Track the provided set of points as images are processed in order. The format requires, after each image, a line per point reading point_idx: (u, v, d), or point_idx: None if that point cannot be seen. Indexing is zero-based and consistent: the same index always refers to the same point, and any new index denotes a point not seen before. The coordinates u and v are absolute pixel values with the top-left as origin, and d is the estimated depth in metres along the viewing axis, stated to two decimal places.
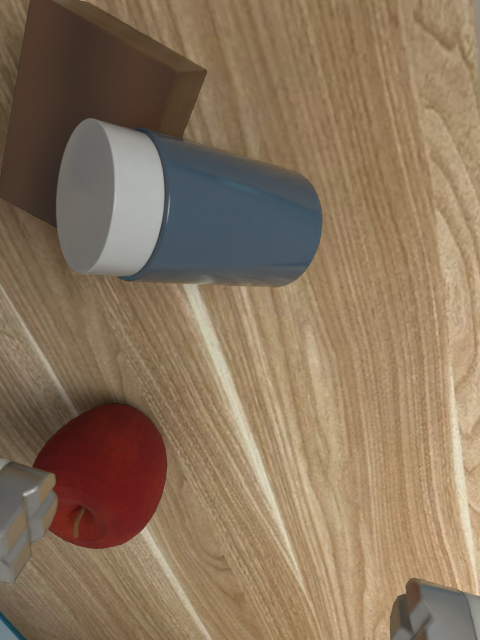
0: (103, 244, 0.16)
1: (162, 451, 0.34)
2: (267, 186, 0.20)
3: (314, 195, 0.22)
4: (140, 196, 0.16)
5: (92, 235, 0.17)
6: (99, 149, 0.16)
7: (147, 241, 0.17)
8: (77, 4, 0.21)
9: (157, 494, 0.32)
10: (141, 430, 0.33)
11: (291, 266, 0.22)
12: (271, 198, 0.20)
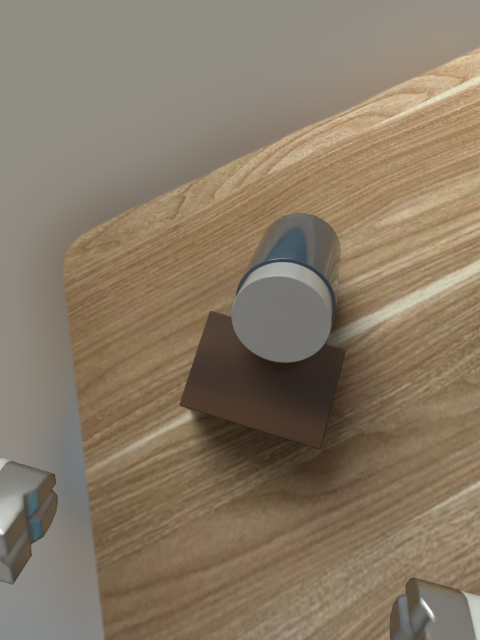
0: (295, 280, 0.25)
1: None
2: (261, 242, 0.32)
3: None
4: (263, 271, 0.26)
5: (296, 297, 0.25)
6: (245, 306, 0.26)
7: (292, 265, 0.26)
8: None
9: None
10: None
11: (312, 220, 0.33)
12: (267, 236, 0.32)
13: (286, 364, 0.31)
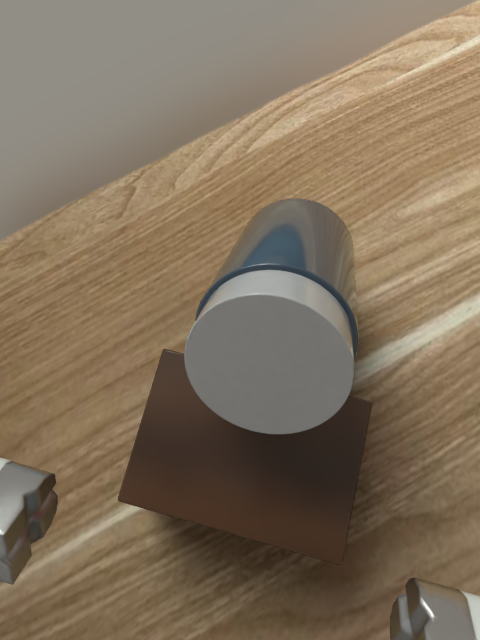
0: (287, 301, 0.14)
1: None
2: (237, 241, 0.21)
3: (247, 223, 0.24)
4: (234, 286, 0.15)
5: (291, 330, 0.15)
6: (205, 346, 0.16)
7: (282, 275, 0.15)
8: None
9: None
10: None
11: (311, 207, 0.22)
12: (245, 233, 0.21)
13: None
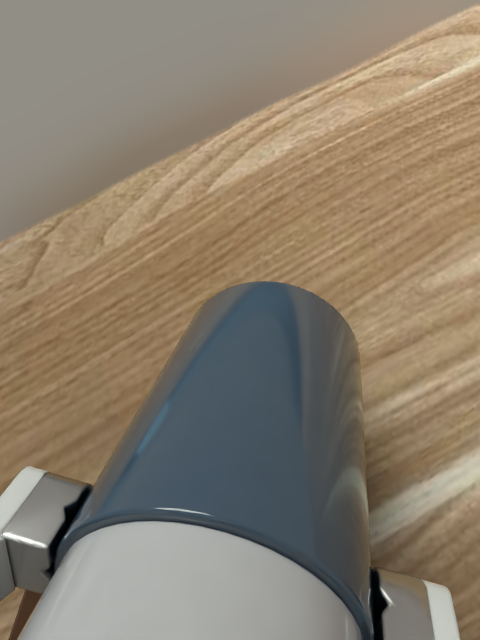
0: None
1: None
2: (165, 367, 0.13)
3: None
4: (93, 581, 0.07)
5: None
6: None
7: (205, 551, 0.07)
8: None
9: None
10: None
11: (290, 302, 0.14)
12: (177, 354, 0.12)
13: None
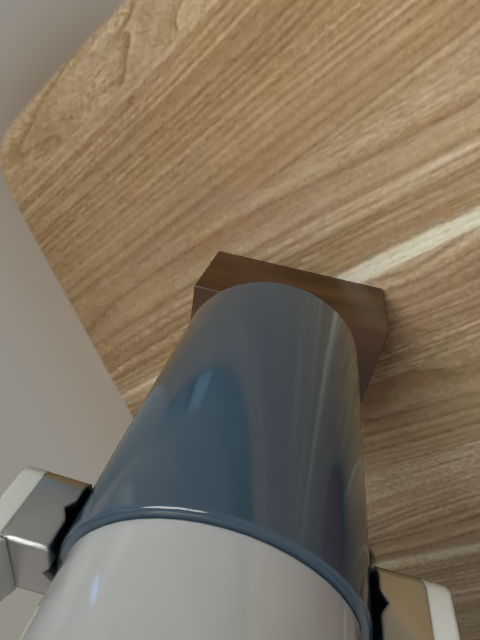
0: None
1: None
2: (165, 367, 0.13)
3: (194, 315, 0.16)
4: (97, 577, 0.07)
5: None
6: None
7: (208, 547, 0.07)
8: None
9: None
10: None
11: (289, 302, 0.14)
12: (177, 354, 0.13)
13: None
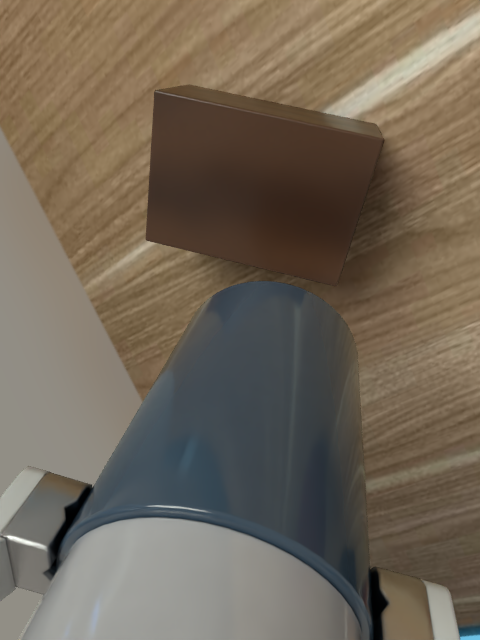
0: None
1: None
2: (164, 366, 0.13)
3: (194, 314, 0.16)
4: (97, 576, 0.07)
5: None
6: None
7: (208, 546, 0.07)
8: None
9: None
10: None
11: (289, 302, 0.14)
12: (177, 353, 0.13)
13: (285, 172, 0.20)
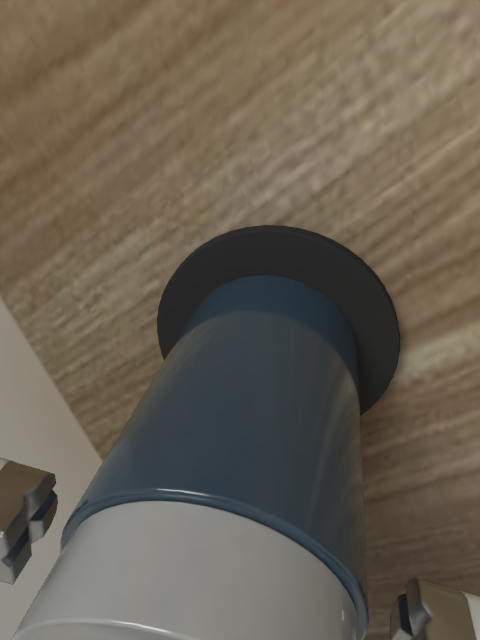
0: None
1: None
2: (167, 358, 0.13)
3: None
4: (99, 555, 0.07)
5: None
6: None
7: (207, 528, 0.07)
8: None
9: None
10: None
11: (289, 295, 0.14)
12: (179, 345, 0.13)
13: None
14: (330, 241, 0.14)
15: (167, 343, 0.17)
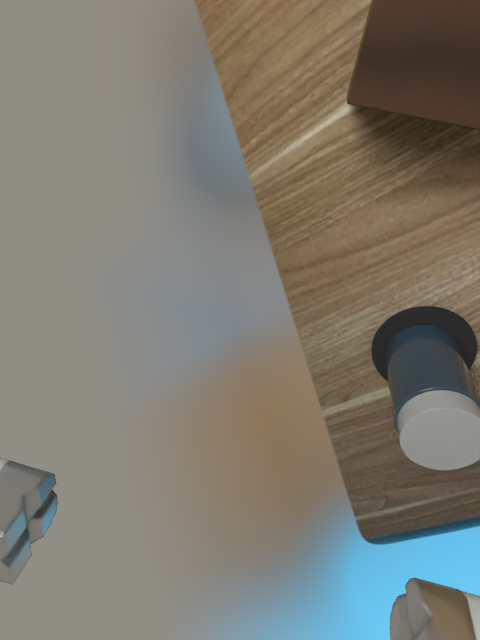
0: (463, 411, 0.30)
1: None
2: (400, 356, 0.37)
3: (395, 337, 0.40)
4: (430, 400, 0.31)
5: (462, 424, 0.31)
6: (414, 428, 0.32)
7: (453, 394, 0.31)
8: None
9: None
10: None
11: (439, 333, 0.38)
12: (406, 352, 0.37)
13: None
14: (453, 313, 0.39)
15: (376, 350, 0.42)
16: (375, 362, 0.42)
